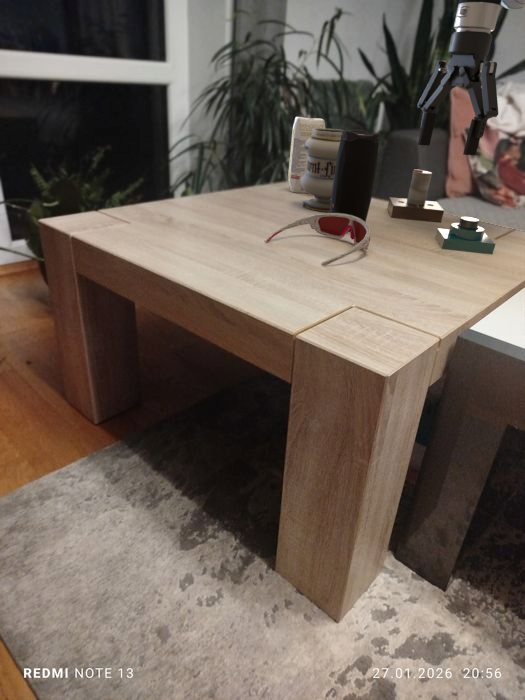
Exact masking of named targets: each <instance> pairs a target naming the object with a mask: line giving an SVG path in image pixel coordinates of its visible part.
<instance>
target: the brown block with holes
mask: <svg viewBox="0 0 525 700" xmlns="http://www.w3.org/2000/svg"><path fill="white" fill-rule="evenodd" d="M407 199H408V198H402V197H392V196H389V197H388V202H387V208H386V209H387V212H388V214H389V216H390V218H391V219H399V220H401V219H402V220H410V221H419V222H429V223H439V224H441V223H442V220H443V217H444V212H445V210H444V208H443V207H442V206H441V204H439V202H437V201H433V200H432V201H431V200H426V202H425V205H413V204H409V203H407Z"/></svg>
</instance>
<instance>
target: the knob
mask: <svg viewBox="0 0 525 700" xmlns="http://www.w3.org/2000/svg"><path fill="white" fill-rule="evenodd" d="M432 175H433V172H431V171H428V170H424V169H423V170H422V169H413V170H412V176H411V179H410V184H409V188H408V189H409V191H408V194H407V198H406V199H407V203H409V204H413V205H425V202H426V201H427V196H428V193H429V188H430V184H431V179H432Z"/></svg>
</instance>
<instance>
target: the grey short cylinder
mask: <svg viewBox="0 0 525 700" xmlns="http://www.w3.org/2000/svg"><path fill="white" fill-rule="evenodd" d="M458 223H459V226H458V227H460V228H463V229H467V230H477V227H478V226H479V223H480V219H478V218H475V217H471V216H461V217H460V219H459V222H458Z"/></svg>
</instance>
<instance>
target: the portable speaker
mask: <svg viewBox="0 0 525 700" xmlns="http://www.w3.org/2000/svg"><path fill="white" fill-rule="evenodd" d="M342 130H343V131H342V135H341V140H340V144H339V149H338V153H337V158H336V165H335V172H334V179H333V186H332V193H331V208H330V212H329V213H341V214H348V215H352V216H355V217H358V218H360V219H362V220H363V221H365V222H366V223H367V219H368V215H369V210H370V206H371V203H372V197H373V191H374V187H375V186H374V185H375V180H376V174H377V168H378V161H379V150H380V149H379V147H380V140H381V133H380V132H376V133H375V132H374V133H372V132H368V131H367V130H364V129H353V128H352V129H349V130H346V129H342ZM350 231H351V229H350V230H349V231H348V232H350Z"/></svg>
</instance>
